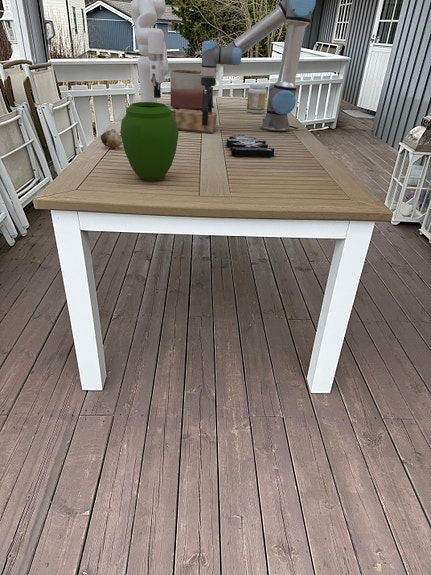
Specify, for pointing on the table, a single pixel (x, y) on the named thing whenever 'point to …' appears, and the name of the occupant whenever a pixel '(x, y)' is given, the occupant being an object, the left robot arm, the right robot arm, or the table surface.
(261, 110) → the supplement tub
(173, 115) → the drawer
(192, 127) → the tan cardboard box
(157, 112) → the vase
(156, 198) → the table surface
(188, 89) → the planter
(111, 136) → the seashell
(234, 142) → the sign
